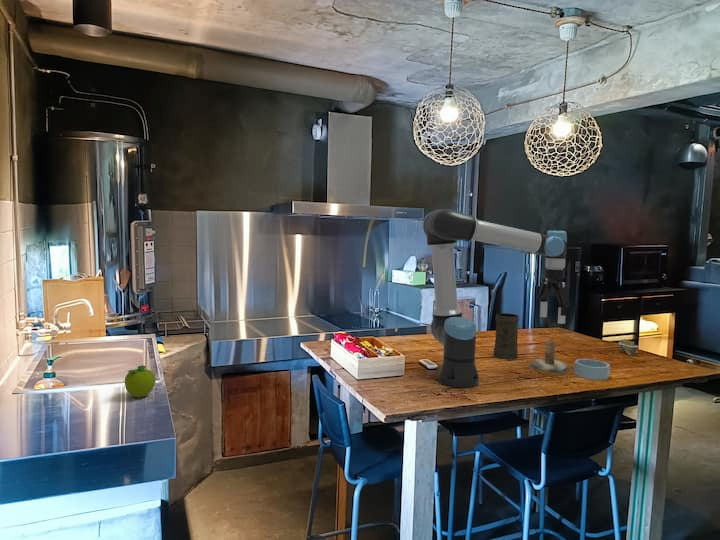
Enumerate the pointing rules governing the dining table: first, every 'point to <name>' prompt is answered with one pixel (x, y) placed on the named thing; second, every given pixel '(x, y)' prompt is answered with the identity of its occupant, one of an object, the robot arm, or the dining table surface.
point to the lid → (549, 360)
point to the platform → (628, 347)
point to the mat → (549, 371)
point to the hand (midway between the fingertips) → (552, 320)
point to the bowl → (591, 369)
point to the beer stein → (506, 336)
